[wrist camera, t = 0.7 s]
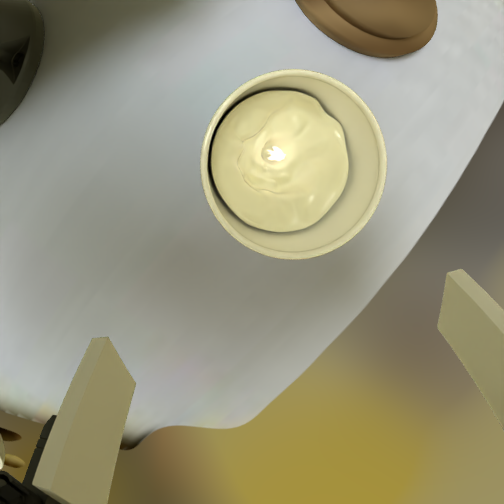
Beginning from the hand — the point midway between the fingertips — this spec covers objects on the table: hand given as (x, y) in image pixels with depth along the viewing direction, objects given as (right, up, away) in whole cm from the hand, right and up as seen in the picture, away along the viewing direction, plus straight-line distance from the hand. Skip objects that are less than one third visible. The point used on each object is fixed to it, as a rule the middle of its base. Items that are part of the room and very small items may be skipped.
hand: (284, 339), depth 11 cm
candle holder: (-1, +11, +15) cm, 19 cm away
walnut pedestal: (+10, +29, +10) cm, 32 cm away
